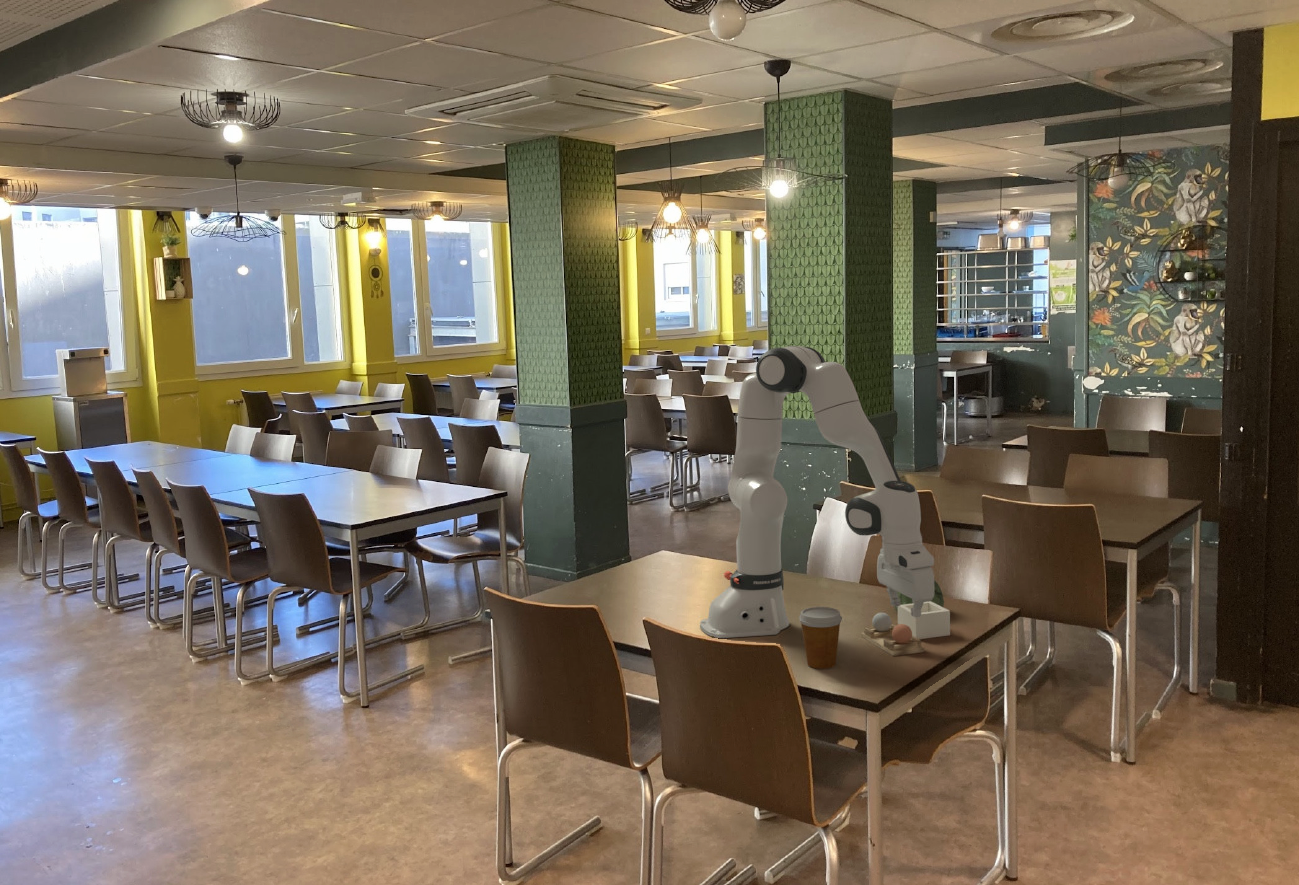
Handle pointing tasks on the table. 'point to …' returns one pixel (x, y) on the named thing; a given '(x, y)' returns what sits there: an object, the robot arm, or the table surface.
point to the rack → (892, 642)
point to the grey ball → (882, 622)
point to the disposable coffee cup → (820, 635)
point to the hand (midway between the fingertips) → (905, 611)
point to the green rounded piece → (936, 599)
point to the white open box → (926, 620)
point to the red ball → (902, 634)
